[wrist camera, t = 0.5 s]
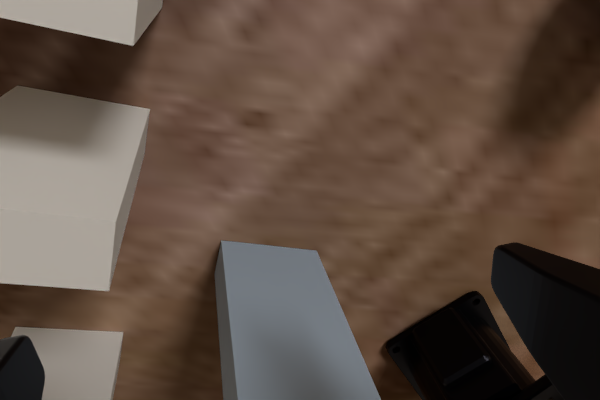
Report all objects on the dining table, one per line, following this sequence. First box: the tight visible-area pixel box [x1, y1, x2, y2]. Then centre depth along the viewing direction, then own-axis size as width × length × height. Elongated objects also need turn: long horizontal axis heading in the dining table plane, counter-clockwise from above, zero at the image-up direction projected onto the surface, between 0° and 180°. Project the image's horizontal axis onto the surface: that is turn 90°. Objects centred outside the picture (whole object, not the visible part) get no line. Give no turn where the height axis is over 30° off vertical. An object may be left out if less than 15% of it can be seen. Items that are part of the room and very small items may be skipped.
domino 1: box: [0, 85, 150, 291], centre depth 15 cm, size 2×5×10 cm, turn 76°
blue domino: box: [215, 240, 381, 400], centre depth 20 cm, size 2×5×10 cm, turn 76°
